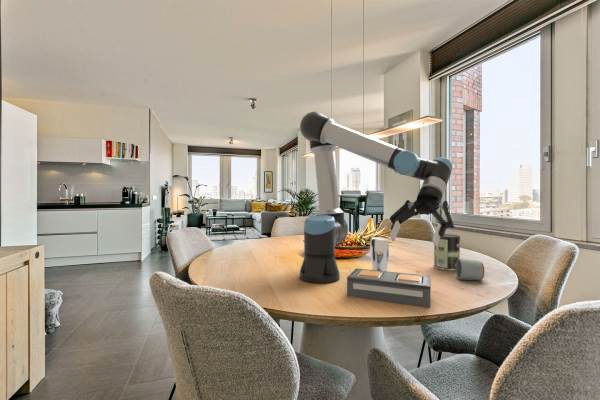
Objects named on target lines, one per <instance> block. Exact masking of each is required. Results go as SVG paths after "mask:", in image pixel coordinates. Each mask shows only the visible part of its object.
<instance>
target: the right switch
mask: <svg viewBox="0 0 600 400" xmlns="http://www.w3.org/2000/svg"><path fill="white" fill-rule="evenodd" d="M396 281H404V282H413V283H422V277H420V276H415V275H405V274H400V275H398V277H397V280H396Z"/></svg>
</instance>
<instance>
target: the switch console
mask: <svg viewBox="0 0 600 400" xmlns="http://www.w3.org/2000/svg"><path fill="white" fill-rule="evenodd" d="M362 270H367V269H365V268H355V269H354V270H352V272H350V274H349V275H348V276H347V277H346V296H347V297H352V298H359V299H365V300H373V301H379V302H387V303H393V304H394V303H395V304H400V305H401V304H403V305H407V306H408V305H409V306H415V307H416V306H418V307H422V308H423V307H424V308H431V295H432V294H431V290H432V289H431V285H432V279H431V278H432V276H431V275H424V274H416V273H415V274H414V273H404V272H396V271H395V272H394V271H388V270H387V271H379V272H381V273H383V276H382V277H381V279H377V278H368V277H359V276H357V275H358V274H359V273H360V272H361V271H362ZM368 270H369V271H377V270H372V269H368ZM400 274H405V275H415V276H420V277H422V283H413V282H404V281H396V280H397V277H398V275H400Z"/></svg>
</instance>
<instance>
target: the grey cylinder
mask: <svg viewBox="0 0 600 400" xmlns="http://www.w3.org/2000/svg"><path fill="white" fill-rule="evenodd" d="M455 274H456V278H457V279H458V280H462V281H464V280H465V281H476V282H477V281H478V282H479V281H482V280H483V279H484V277H485V266H484V263H483V262H482V261H479V260H474V259H465V258H460V259H458V260H457V263H456V270H455Z"/></svg>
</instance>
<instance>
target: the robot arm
mask: <svg viewBox="0 0 600 400" xmlns="http://www.w3.org/2000/svg"><path fill="white" fill-rule="evenodd" d="M299 130H300V134H301V135H302V136H303V138H305V140H307V141H309V150H310V151H311V152H312V153H313V155H314V164H315V177H316V187H317V188H316V189H317V197H318V211H317V212H316V215H312V216H308V217H307V218H305V220H304V222H303V223H304V225H303V235H304V236H303V243H304V244H303V247H304V251H303V252H304V254H303V255H304V256H303V259H302V263H301V266H300V269H299V279H300V280H301V281H304V282H307V283H311V284H312V283H313V284H328V283H334V282H337V281H339V280H340V269H339V267H338V264H337V261H336V245H338V244H341V243H342V242H343V241H344V240H345V239H346V237H348V233H349V225H348V222H347V221H346V219H345V211H343V210H342V209H341V208H340V199H339V188H338V187H339V184H338V176H337V175H338V174H337V165H336V155H335V151H337V149H338V148H340V149H341V150H345V151H347V152H350V153H351V154H354V155H357V156H359V157H362V158H365V159H367V160H369V161H371V162H375V163H376V164H379V165H382V166H383V167H386V168H389V169H390V170H392V171H393V172H394V173H397V174H399V175H403V176H407V177H410V178H414V179H416V180H417V179H418V180H420V181H423V182H422V183H421V185H420V186H421V187H420V189H419V191H418V194H417V196H416V200H414V201H410V200H409V199H407V200H406V201H405V202H404V204H403V205H402V206H401V207H399V208H398V209H397V210H396V211H395V212H394V213H393V214H391V216H390V217H389V220H390V223H391V227H390V230H391V231H390V233H389V238H390V240H391V241H392V242H395V241H396V238H397V236H398V233H399V231H400V229H401V224H403V223H405V222H406V221H407V220H409V219H411V218H413V217H414V216H415V217H416V216H418V215H428V216H430V215H432V217H434V218H435V220H436V221H437V223H438V224H437V226H436V229H435V232H434V234H433V237H432V240H431V242H432V243H433V247H434V246H437V245H438V242H439V239H440V236H442V237H443V236H444V234H446V231H447V229H449V228H450V229H454V228H455V226H454V222H453V219H452V217H451V214H450V211H449V208H450V205H449V203H448V201H447V200H444V201H443V202H441V201H442V198H443V195H444V194H445V191H446V188H447V185H448V182H449V180H450V177H451V175H452V171H453V163H452V162H451V160H450V159H448V158H447V157H443V156H440V157H436V158H434V159H432V160H431V159H430V160H429V159H425V158H421V157H419V156H418V154H416V153H415V152H414V151H412V150H406V149H403V148H401V147H397V146H396V145H393V144H390V143H387V142H385V141H382V140H381V139H377V138H375V137H373V136H370V135H366V134H364V133H362V132H359V131H356V130H354V129H351V128H349V127H346V126H343V125H341V124H338V123H336V122H335V120H334V119H333V118H331V117H328V116H326V115H325V114H323V113H322V112H318V111H311V112H308V113H307V114H305V115H304V116H303V117H302V119H301V121H300V124H299ZM438 209H441V210H442V211H443V212H444V214H445V217H446V220H447V221H446V220H444V219H443V217H442V216H441V215H440V214H439V212H438V211H437V210H438Z"/></svg>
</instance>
